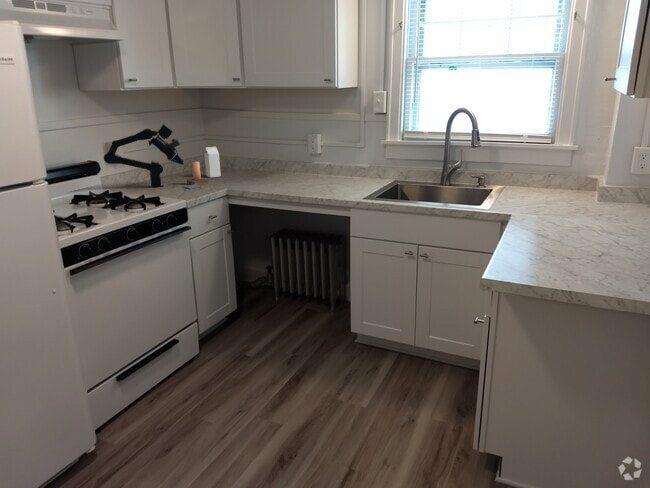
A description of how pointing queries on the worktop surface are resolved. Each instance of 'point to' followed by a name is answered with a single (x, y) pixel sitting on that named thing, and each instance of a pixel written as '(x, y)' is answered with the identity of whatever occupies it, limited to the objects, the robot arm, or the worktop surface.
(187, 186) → the slate rubber pad
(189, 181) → the walnut socket block
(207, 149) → the milk carton
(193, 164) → the peach rounded cylinder
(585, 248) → the worktop surface
